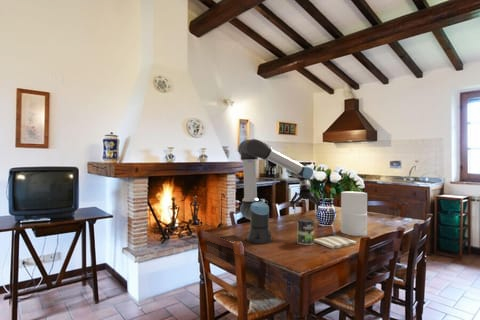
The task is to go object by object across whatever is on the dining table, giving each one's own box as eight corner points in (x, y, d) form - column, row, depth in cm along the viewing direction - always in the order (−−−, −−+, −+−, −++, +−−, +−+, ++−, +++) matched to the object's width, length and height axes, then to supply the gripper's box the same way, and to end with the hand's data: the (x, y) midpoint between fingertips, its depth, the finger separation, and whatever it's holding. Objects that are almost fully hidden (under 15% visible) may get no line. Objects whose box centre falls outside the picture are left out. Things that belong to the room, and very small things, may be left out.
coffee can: (316, 244, 179) (317, 221, 178) (301, 245, 176) (301, 222, 176) (308, 239, 189) (308, 217, 188) (294, 240, 186) (294, 218, 186)
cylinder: (339, 228, 218) (340, 191, 217) (364, 230, 213) (365, 191, 213) (341, 234, 201) (342, 194, 201) (368, 236, 197) (369, 195, 196)
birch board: (332, 248, 170) (332, 246, 170) (313, 241, 184) (313, 239, 184) (356, 244, 180) (356, 241, 180) (336, 237, 194) (336, 235, 194)
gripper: (323, 191, 207) (324, 217, 193) (287, 190, 212) (286, 215, 198) (323, 185, 202) (325, 210, 187) (287, 184, 207) (286, 209, 192)
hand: (305, 213), depth 192 cm, fingers open, 13 cm apart
